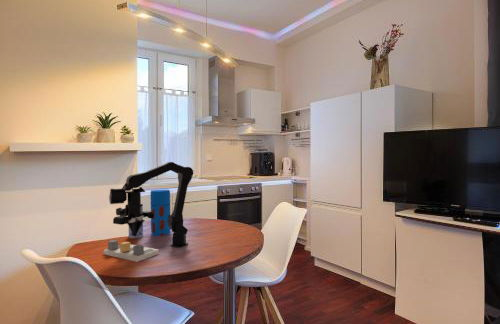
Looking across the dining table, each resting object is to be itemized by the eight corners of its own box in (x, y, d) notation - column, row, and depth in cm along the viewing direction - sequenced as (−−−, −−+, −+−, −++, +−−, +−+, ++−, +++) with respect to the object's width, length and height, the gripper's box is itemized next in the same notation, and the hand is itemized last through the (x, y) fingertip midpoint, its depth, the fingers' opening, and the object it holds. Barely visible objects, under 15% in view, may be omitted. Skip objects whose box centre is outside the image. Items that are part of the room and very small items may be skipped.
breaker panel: (125, 247, 152) (125, 236, 152) (158, 253, 141) (158, 241, 141) (103, 254, 142) (103, 241, 142) (137, 261, 131) (136, 248, 131)
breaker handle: (125, 249, 141) (125, 241, 141) (130, 250, 139) (130, 242, 139) (120, 251, 138) (120, 243, 138) (124, 252, 137) (124, 244, 137)
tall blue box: (171, 234, 176) (171, 190, 176) (151, 236, 172) (151, 191, 172) (169, 230, 186) (168, 189, 186) (150, 232, 182) (149, 190, 182)
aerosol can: (140, 238, 170) (140, 201, 169) (126, 238, 169) (125, 201, 169) (145, 234, 178) (144, 199, 177) (131, 234, 177) (130, 199, 177)
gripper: (138, 198, 155) (138, 229, 156) (104, 203, 139) (105, 238, 139) (154, 200, 150) (154, 232, 150) (121, 205, 134) (122, 241, 134)
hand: (134, 235), depth 143 cm, fingers closed
